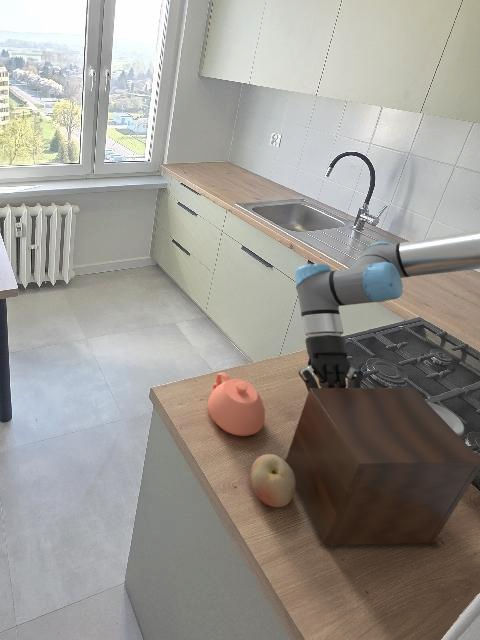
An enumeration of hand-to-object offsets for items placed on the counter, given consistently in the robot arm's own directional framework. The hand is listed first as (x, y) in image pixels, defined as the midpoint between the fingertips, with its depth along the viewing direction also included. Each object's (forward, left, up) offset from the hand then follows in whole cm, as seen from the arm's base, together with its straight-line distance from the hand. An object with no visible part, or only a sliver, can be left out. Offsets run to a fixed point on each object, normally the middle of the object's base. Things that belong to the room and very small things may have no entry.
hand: (346, 460), depth 81 cm
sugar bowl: (+17, -15, -5) cm, 23 cm away
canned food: (-21, -5, -5) cm, 22 cm away
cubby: (0, +4, -5) cm, 7 cm away
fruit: (+16, +3, -5) cm, 17 cm away
